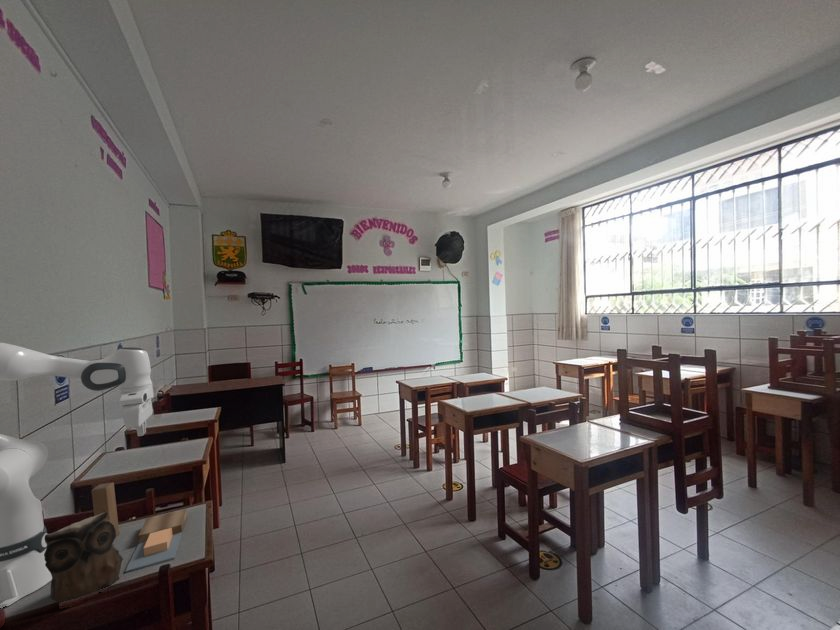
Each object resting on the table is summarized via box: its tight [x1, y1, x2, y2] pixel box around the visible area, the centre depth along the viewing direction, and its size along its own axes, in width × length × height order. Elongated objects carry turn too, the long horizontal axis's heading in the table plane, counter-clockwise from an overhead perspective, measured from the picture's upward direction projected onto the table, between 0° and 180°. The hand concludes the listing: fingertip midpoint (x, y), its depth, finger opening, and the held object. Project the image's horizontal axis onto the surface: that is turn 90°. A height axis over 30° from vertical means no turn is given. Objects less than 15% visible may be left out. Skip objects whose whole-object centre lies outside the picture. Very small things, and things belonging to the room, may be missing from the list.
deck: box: [137, 508, 188, 544], centre depth 134 cm, size 12×12×3 cm
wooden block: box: [91, 482, 120, 536], centre depth 131 cm, size 9×4×18 cm, turn 100°
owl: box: [44, 512, 124, 604], centre depth 105 cm, size 13×13×20 cm
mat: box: [124, 532, 183, 574], centre depth 122 cm, size 12×15×1 cm
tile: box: [144, 528, 173, 556], centre depth 124 cm, size 6×9×2 cm, turn 24°
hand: (141, 434), depth 134 cm, fingers closed
